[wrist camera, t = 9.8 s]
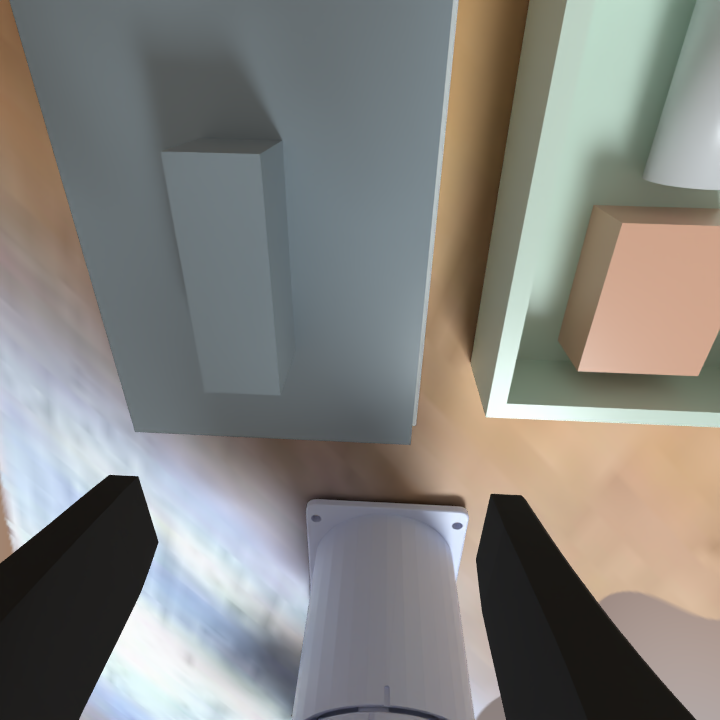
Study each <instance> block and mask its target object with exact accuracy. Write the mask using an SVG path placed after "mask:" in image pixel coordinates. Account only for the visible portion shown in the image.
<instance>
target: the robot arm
mask: <svg viewBox="0 0 720 720" xmlns="http://www.w3.org/2000/svg"><path fill="white" fill-rule="evenodd" d="M315 515H318V516H315ZM468 520H469V516H468V511H467V510H466V509H465V508H463V507H460V506H442V505H422V504H403V503H383V502H363V501H343V500H324V499H313V500H310V501H309V502H308V503H307V507H306V521H307V537H308V554H309V571H310V588H311V592H310V599H309V606H308V613H307V619H306V626H305V633H304V640H303V646H302V653H301V660H300V667H299V673H298V680H297V687H296V693H295V700H294V707H293V714H292V720H475V718H474V711H473V704H472V696H471V689H470V682H469V674H468V667H467V659H466V652H465V645H464V637H463V630H462V623H461V615H460V608H459V601H458V593H457V586H456V580H457V575H458V570H459V565H460V560H461V555H462V550H463V545H464V540H465V535H466V530H467V525H468ZM457 522H459V523H457ZM157 545H158V539H157V536H156V533H155V529H154V526H153V523H152V520H151V516H150V513H149V510H148V507H147V503H146V500H145V497H144V494H143V490H142V487H141V484H140V481H139V477H138V476H120V475H109V476H107V477H106V478H105V479H104V480H102V481H101V482H100V483H99V484H97V485H96V486H95V487H94V488H92V489H91V490H90V491H89V492H87V493H86V494H85V495H84V496H83V497H81V498H80V499H79V500H78V501H76V502H75V503H74V504H73V505H72V506H70V507H69V508H68V509H67V510H66V511H64V512H63V513H62V514H61V515H60V516H58V517H57V518H56V519H55V520H53V521H52V522H51V523H50V524H49V525H47V526H46V527H45V528H44V529H42V530H41V531H40V532H39V533H38V534H36V535H35V536H34V537H33V538H31V539H30V540H29V541H28V542H26V543H25V544H24V545H23V546H21V547H20V548H19V549H18V550H16V551H15V552H14V553H13V554H11V555H10V556H9V557H8V558H7V559H5V560H4V561H3V562H1V563H0V720H79V718H80V716H81V714H82V712H83V710H84V708H85V706H86V704H87V701H88V699H89V697H90V695H91V693H92V691H93V689H94V687H95V685H96V683H97V681H98V679H99V677H100V675H101V673H102V671H103V669H104V667H105V665H106V663H107V661H108V659H109V657H110V655H111V653H112V651H113V649H114V647H115V645H116V643H117V641H118V639H119V637H120V635H121V632H122V630H123V628H124V626H125V624H126V622H127V620H128V618H129V616H130V614H131V612H132V610H133V608H134V606H135V604H136V601H137V599H138V597H139V595H140V593H141V591H142V588H143V585H144V582H145V580H146V577H147V574H148V572H149V569H150V566H151V563H152V560H153V557H154V554H155V551H156V548H157ZM476 564H477V573H478V582H479V591H480V599H481V607H482V613H483V618H484V623H485V627H486V632H487V636H488V641H489V646H490V650H491V655H492V659H493V663H494V668H495V672H496V677H497V681H498V686H499V690H500V694H501V698H502V703H503V708H504V712H505V717H506V720H696V719H695V718H694V717H693V716H692V714H691V713H690V712H689V711H688V710H687V709H686V708H685V707H684V706H683V705H682V703H681V702H680V701H679V700H678V699H677V698H676V697H675V696H674V695H673V693H672V692H671V691H670V690H669V689H668V688H667V687H666V685H665V684H664V683H663V682H662V681H661V680H660V679H659V677H658V676H657V675H656V674H655V673H654V672H653V670H652V669H651V668H650V667H649V666H648V664H647V663H646V662H645V661H644V660H643V659H642V658H641V656H640V655H639V654H638V653H637V651H636V650H635V649H634V648H633V646H632V645H631V644H630V643H629V642H628V640H627V639H626V638H625V637H624V636H623V634H622V633H621V632H620V631H619V629H618V628H617V627H616V626H615V624H614V623H613V622H612V621H611V619H610V618H609V617H608V615H607V614H606V613H605V611H604V610H603V609H602V608H601V606H600V605H599V604H598V602H597V601H596V600H595V598H594V597H593V596H592V594H591V593H590V592H589V590H588V589H587V588H586V586H585V585H584V584H583V582H582V581H581V579H580V578H579V577H578V575H577V574H576V573H575V571H574V570H573V569H572V567H571V566H570V564H569V563H568V562H567V560H566V559H565V557H564V556H563V555H562V553H561V552H560V550H559V549H558V547H557V546H556V544H555V543H554V542H553V540H552V539H551V537H550V536H549V534H548V533H547V531H546V530H545V528H544V527H543V525H542V524H541V522H540V521H539V519H538V518H537V516H536V515H535V513H534V512H533V510H532V509H531V507H530V506H529V504H528V503H527V501H526V500H525V499H524V497H523V496H522V495H503V494H491V495H490V500H489V504H488V508H487V513H486V517H485V522H484V526H483V531H482V535H481V539H480V544H479V548H478V553H477V557H476Z"/></svg>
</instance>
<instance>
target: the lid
mask: <svg viewBox="0 0 720 720" xmlns="http://www.w3.org/2000/svg"><path fill="white" fill-rule="evenodd" d="M9 1H10V4H11V8H12V11H13V15H14V18H15V22H16V25H17V28H18V32H19V35H20V39H21V42H22V46H23V49H24V52H25V56H26V59H27V63H28V66H29V70H30V73H31V76H32V80H33V83H34V87H35V90H36V94H37V97H38V100H39V104H40V107H41V111H42V114H43V118H44V121H45V124H46V128H47V131H48V135H49V138H50V142H51V145H52V148H53V152H54V155H55V159H56V162H57V166H58V169H59V173H60V176H61V179H62V183H63V186H64V190H65V193H66V197H67V200H68V203H69V207H70V210H71V214H72V217H73V221H74V224H75V227H76V231H77V234H78V238H79V241H80V245H81V248H82V251H83V255H84V258H85V262H86V265H87V269H88V272H89V275H90V279H91V282H92V286H93V289H94V293H95V296H96V299H97V303H98V306H99V310H100V313H101V317H102V320H103V323H104V327H105V330H106V334H107V337H108V341H109V344H110V347H111V351H112V354H113V358H114V361H115V365H116V368H117V371H118V375H119V378H120V382H121V385H122V389H123V392H124V396H125V399H126V402H127V406H128V409H129V413H130V416H131V420H132V423H133V426H134V430H135V432H148V433H169V434H190V435H212V436H233V437H254V438H275V439H297V440H318V441H339V442H361V443H382V444H403V445H410V444H411V434H412V424H413V413H414V403H415V392H416V382H417V372H418V361H419V351H420V340H421V330H422V319H423V309H424V299H425V288H426V278H427V267H428V257H429V247H430V236H431V226H432V215H433V205H434V195H435V184H436V174H437V163H438V153H439V143H440V132H441V122H442V111H443V101H444V90H445V80H446V70H447V59H448V49H449V38H450V28H451V18H452V7H453V0H9Z"/></svg>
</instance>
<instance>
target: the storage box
mask: <svg viewBox="0 0 720 720" xmlns="http://www.w3.org/2000/svg"><path fill="white" fill-rule="evenodd" d="M471 367H472V371H473V374H474V378H475V381H476V385H477V388H478V391H479V395H480V398H481V402H482V405H483V409H484V412H485V416H486V417H496V418H519V419H541V420H564V421H587V422H609V423H632V424H655V425H677V426H700V427H720V0H529V6H528V12H527V19H526V25H525V31H524V37H523V43H522V49H521V56H520V62H519V68H518V74H517V80H516V86H515V93H514V99H513V105H512V111H511V117H510V123H509V130H508V136H507V142H506V148H505V154H504V160H503V167H502V173H501V179H500V185H499V191H498V197H497V204H496V210H495V216H494V222H493V228H492V234H491V241H490V247H489V253H488V259H487V265H486V271H485V278H484V284H483V290H482V296H481V302H480V308H479V315H478V321H477V327H476V333H475V339H474V345H473V352H472V358H471Z"/></svg>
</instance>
